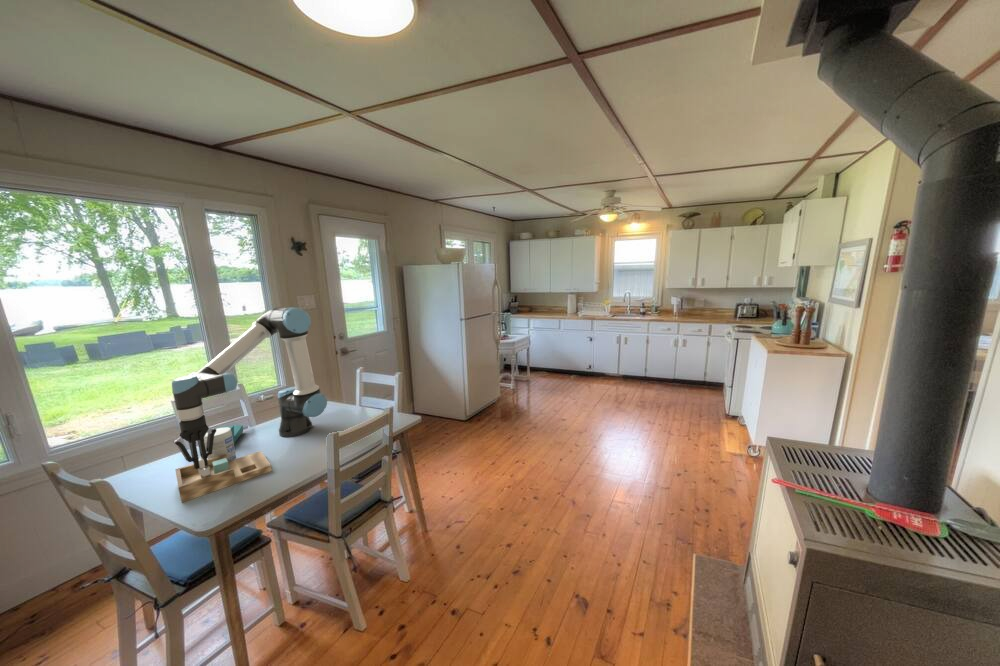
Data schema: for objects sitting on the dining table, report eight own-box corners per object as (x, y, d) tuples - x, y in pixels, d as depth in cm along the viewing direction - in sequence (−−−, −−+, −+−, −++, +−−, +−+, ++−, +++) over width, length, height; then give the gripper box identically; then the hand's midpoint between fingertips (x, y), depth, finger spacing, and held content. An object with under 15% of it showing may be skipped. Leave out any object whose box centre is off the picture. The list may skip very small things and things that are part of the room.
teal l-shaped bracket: (232, 449, 169) (231, 428, 168) (204, 452, 165) (202, 430, 164) (243, 434, 186) (242, 414, 184) (217, 436, 181) (216, 416, 180)
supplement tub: (235, 464, 153) (230, 432, 151) (207, 472, 148) (201, 439, 146) (237, 455, 161) (231, 424, 159) (210, 462, 156) (204, 430, 154)
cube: (227, 467, 146) (226, 457, 145) (229, 471, 143) (227, 461, 142) (214, 472, 143) (212, 462, 142) (215, 476, 139) (213, 466, 139)
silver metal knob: (212, 479, 137) (209, 465, 136) (213, 482, 135) (210, 468, 134) (202, 483, 135) (199, 468, 134) (203, 486, 133) (200, 471, 132)
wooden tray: (261, 456, 160) (259, 443, 159) (271, 470, 147) (269, 457, 146) (178, 483, 140) (175, 469, 139) (181, 502, 128) (178, 487, 127)
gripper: (208, 409, 142) (218, 464, 146) (165, 421, 131) (177, 480, 135) (216, 412, 138) (226, 469, 142) (173, 425, 127) (185, 486, 131)
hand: (202, 474), depth 139 cm, fingers closed
